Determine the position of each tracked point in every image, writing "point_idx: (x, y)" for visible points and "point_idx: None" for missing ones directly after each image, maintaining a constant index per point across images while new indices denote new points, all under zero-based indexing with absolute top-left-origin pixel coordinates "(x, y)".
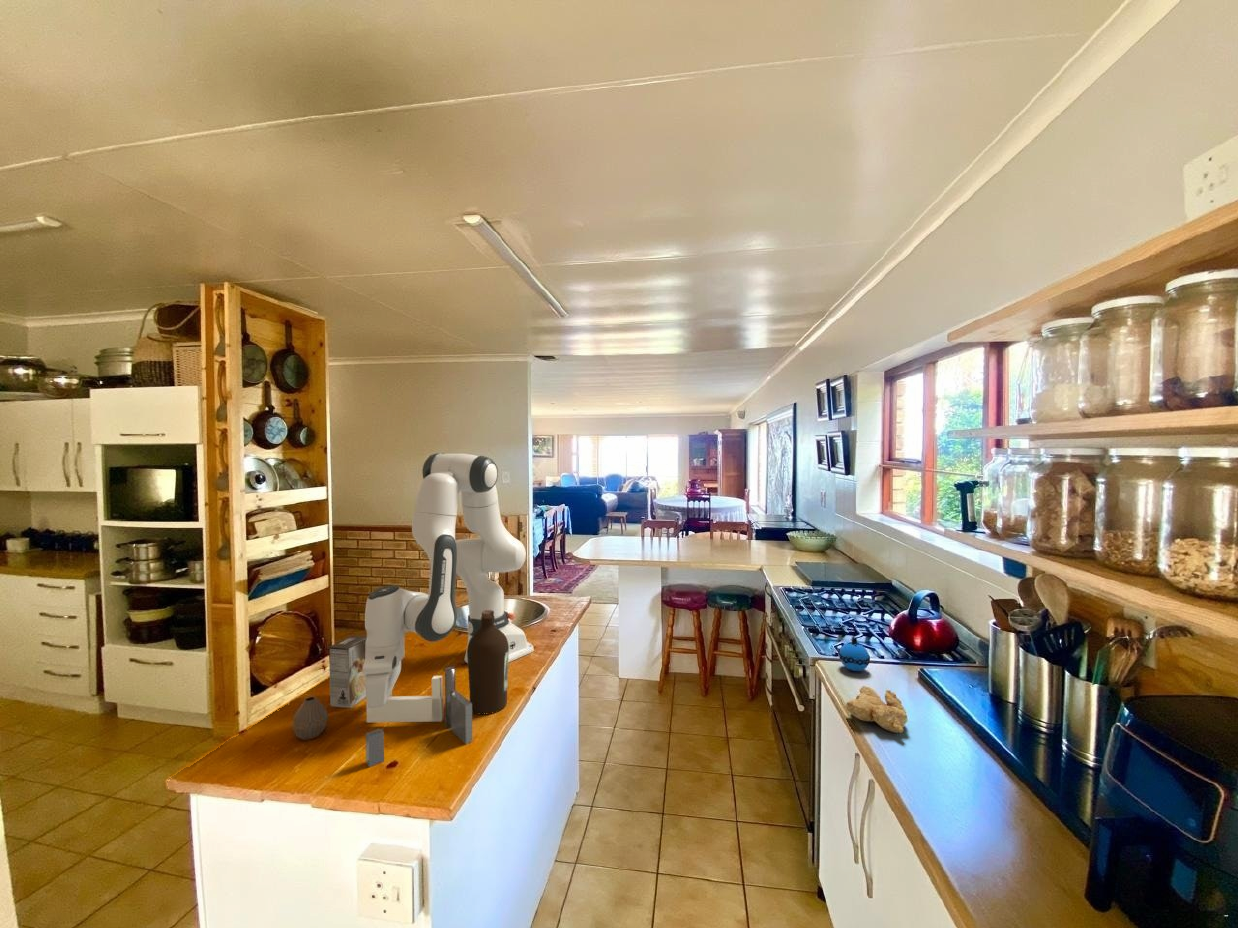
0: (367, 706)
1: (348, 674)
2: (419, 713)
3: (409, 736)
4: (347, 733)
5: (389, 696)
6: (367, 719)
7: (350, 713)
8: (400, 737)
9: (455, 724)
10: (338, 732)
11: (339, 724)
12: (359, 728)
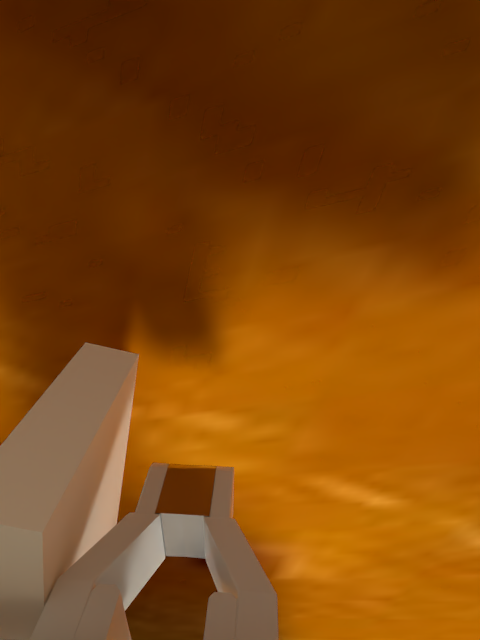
0: (2, 449)
1: None
2: None
3: None
4: (44, 193)
5: (213, 570)
6: (74, 360)
7: (409, 117)
8: None
9: None
10: (62, 103)
11: (208, 62)
12: (112, 268)
